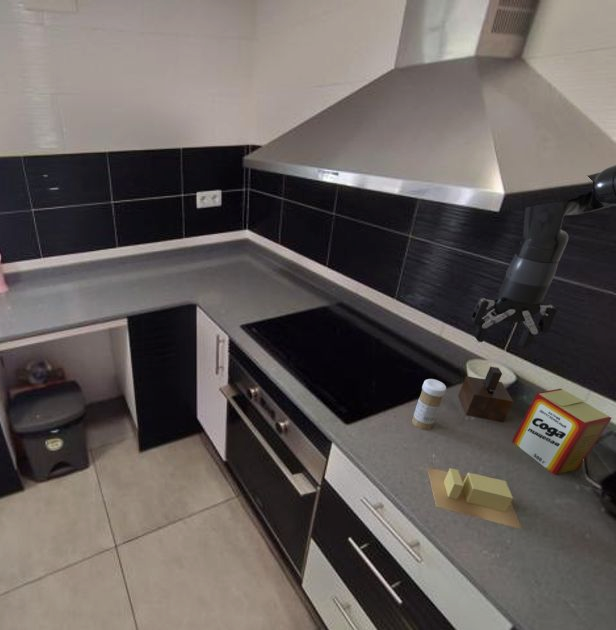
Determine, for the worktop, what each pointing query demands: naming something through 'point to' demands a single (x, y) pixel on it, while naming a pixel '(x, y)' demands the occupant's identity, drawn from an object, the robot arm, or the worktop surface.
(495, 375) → the knife
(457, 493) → the butter slice
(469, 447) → the worktop surface
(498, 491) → the butter block
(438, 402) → the sprinkles bottle
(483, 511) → the butter board
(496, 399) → the knife block
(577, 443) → the baking soda box
